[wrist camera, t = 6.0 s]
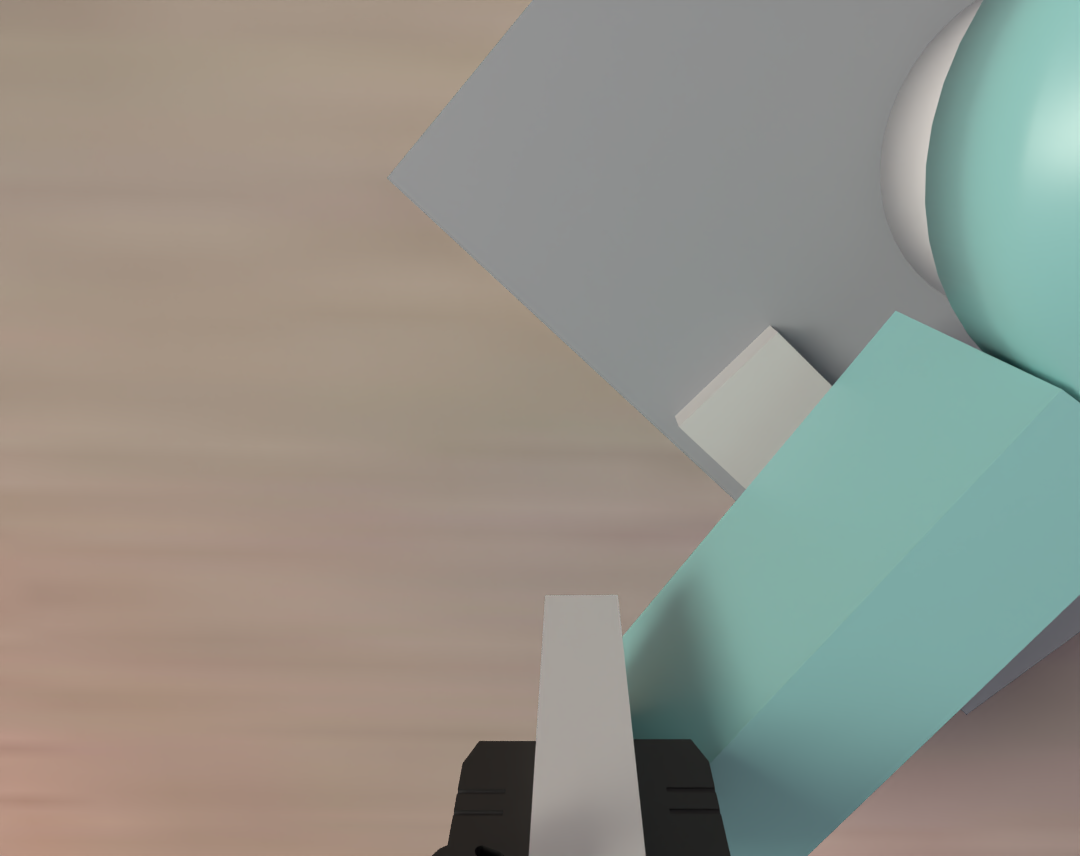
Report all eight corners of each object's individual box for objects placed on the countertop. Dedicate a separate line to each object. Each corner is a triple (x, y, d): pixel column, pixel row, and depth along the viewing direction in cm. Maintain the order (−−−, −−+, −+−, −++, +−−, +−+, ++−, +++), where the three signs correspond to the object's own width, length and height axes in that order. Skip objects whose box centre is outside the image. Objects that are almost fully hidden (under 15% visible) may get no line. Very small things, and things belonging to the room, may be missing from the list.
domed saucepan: (1119, -254, 13) (1647, -662, 7) (1483, 79, 15) (2227, 12, 8) (431, 660, 19) (355, 917, 13) (730, 839, 21) (800, 1156, 14)
